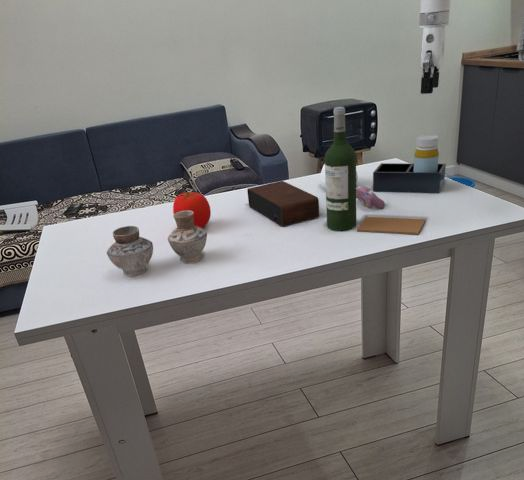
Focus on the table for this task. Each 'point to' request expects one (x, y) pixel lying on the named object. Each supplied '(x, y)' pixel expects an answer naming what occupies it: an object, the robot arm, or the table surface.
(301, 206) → the brown box
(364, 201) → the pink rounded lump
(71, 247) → the table surface
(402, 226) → the cork mat
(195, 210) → the tomato
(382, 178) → the divided storage box
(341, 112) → the wine bottle
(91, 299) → the table surface
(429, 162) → the bottle
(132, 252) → the pottery
